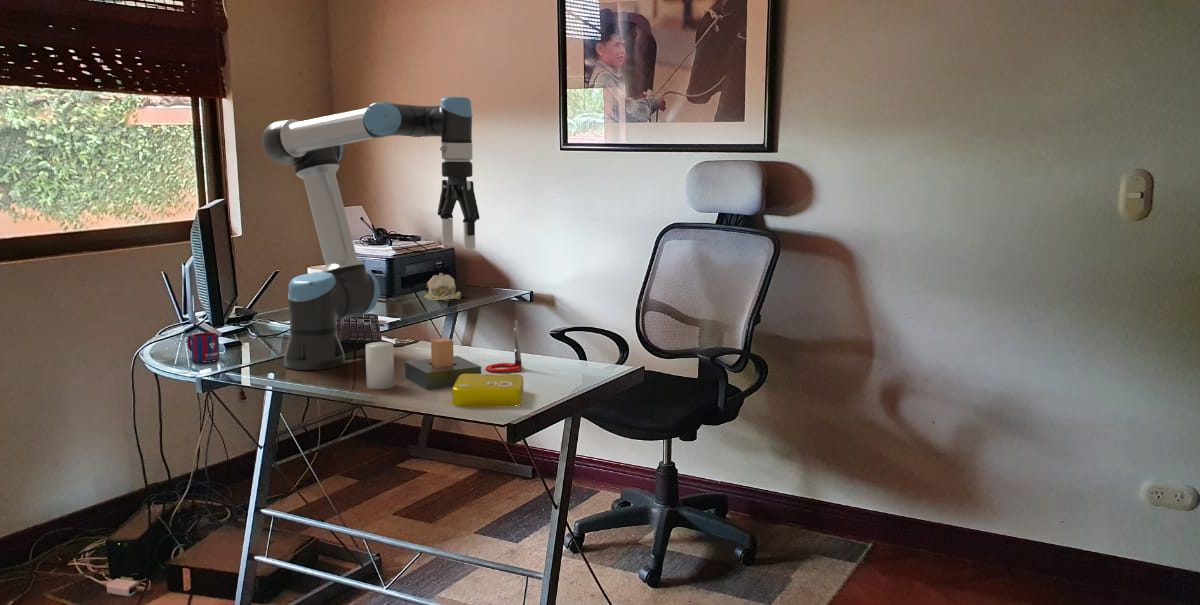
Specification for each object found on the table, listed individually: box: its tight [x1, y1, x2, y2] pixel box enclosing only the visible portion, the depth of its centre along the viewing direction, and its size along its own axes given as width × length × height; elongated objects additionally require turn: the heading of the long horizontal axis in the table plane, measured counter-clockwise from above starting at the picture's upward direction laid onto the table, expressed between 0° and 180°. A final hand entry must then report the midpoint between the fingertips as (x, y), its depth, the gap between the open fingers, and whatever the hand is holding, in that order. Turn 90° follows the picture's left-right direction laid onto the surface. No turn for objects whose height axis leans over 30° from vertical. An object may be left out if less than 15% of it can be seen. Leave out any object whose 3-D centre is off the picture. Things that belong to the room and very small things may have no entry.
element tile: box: [451, 373, 524, 408], centre depth 210 cm, size 15×15×5 cm
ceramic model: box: [423, 272, 462, 301], centre depth 356 cm, size 14×11×10 cm
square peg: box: [430, 337, 454, 368], centre depth 225 cm, size 4×4×10 cm
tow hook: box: [484, 319, 522, 374], centre depth 237 cm, size 8×13×9 cm
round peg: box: [365, 341, 395, 390], centre depth 219 cm, size 6×6×10 cm
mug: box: [186, 331, 221, 363], centre depth 246 cm, size 7×10×7 cm
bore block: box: [404, 355, 482, 390], centre depth 226 cm, size 14×14×4 cm
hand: (458, 246), depth 232 cm, fingers open, 13 cm apart
